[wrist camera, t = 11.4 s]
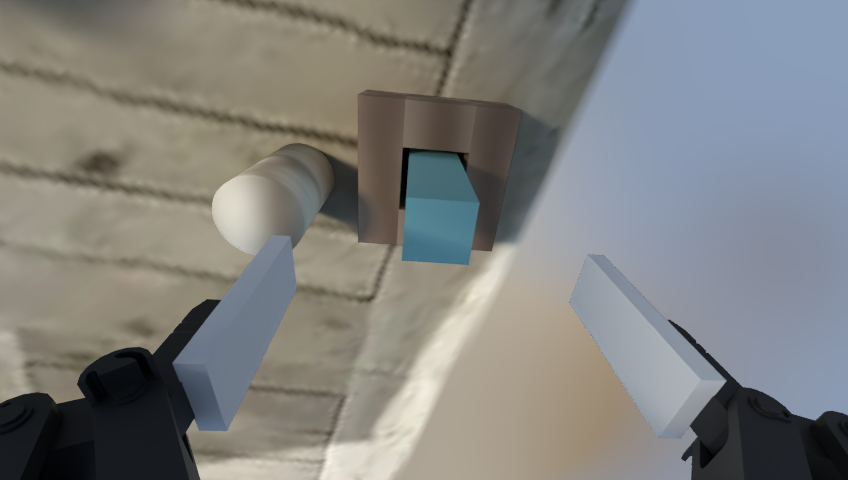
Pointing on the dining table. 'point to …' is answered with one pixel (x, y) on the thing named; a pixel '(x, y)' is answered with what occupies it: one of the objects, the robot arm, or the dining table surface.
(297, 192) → the round dowel
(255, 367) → the robot arm
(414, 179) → the square bit
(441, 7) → the dining table surface
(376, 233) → the socket block
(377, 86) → the dining table surface
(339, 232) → the dining table surface
